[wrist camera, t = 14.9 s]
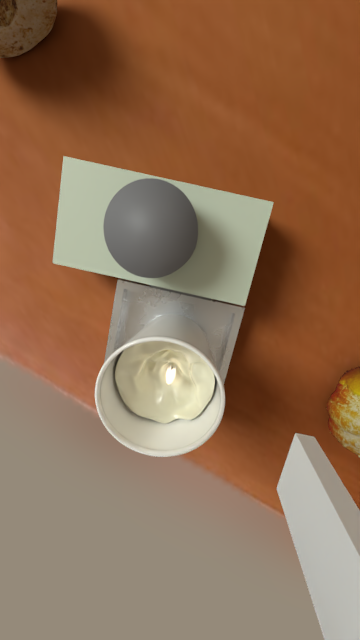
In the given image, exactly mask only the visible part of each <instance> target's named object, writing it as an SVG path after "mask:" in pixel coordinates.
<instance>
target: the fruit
mask: <svg viewBox="0 0 360 640" xmlns="http://www.w3.org/2000/svg"><path fill="white" fill-rule="evenodd" d="M326 409H327V410H328V413H329V416H330V417H329V420H328V427H329V430H330V433H331V434H333V436H334V437H335V438H336V439H337V440H338V442H339V443H340V444H342V445H343V446H344V447H345V448H346V449H348V450H350V451H351V452H353V453H355V454H357V455H358V456H359V457H360V367H356V368H354V369H351V370H350V371H347V372H346V373H344V375H343V376H342V377H341V378H340V380H339V383H338V385H337V387H336V390H335V391H334V392H333V393H332V395H331V397H330V399H329V401H328V403H327V407H326Z"/></svg>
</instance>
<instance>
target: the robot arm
mask: <svg viewBox="0 0 360 640" xmlns="http://www.w3.org/2000/svg"><path fill="white" fill-rule="evenodd" d="M277 491H278V495H279V498H280V501H281V504H282V507H283V510H284V514H285V517H286V520H287V523H288V526H289V529H290V532H291V535H292V539H293V542H294V545H295V548H296V551H297V555H298V558H299V561H300V564H301V567H302V570H303V573H304V577H305V580H306V583H307V586H308V589H309V592H310V596H311V598H312V602H313V605H314V608H315V611H316V614H317V617H318V621H319V624H320V627H321V630H322V633H323V637H324V640H360V510H359V509H358V507H357V506H356V504H355V502H354V501H353V499H352V497H351V496H350V494H349V492H348V491H347V489H346V488H345V486H344V484H343V483H342V481H341V479H340V478H339V476H338V475H337V473H336V471H335V470H334V468H333V466H332V465H331V463H330V461H329V460H328V458H327V457H326V455H325V453H324V452H323V450H322V448H321V447H320V445H319V443H318V442H317V440H316V439H315V437H313V436H308V435H303V434H299V433H295V435H294V438H293V441H292V444H291V447H290V450H289V453H288V456H287V459H286V462H285V465H284V468H283V471H282V474H281V477H280V480H279V483H278V485H277Z"/></svg>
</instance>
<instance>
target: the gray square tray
mask: <svg viewBox="0 0 360 640" xmlns="http://www.w3.org/2000/svg"><path fill="white" fill-rule="evenodd" d="M244 310H245V308H244V306H242V305H238V304H233V303H229V302H224V301H220V300H215V299H211V301H209V300H204V299H200V298H195V297H191V296H186V295H182V294H177V293H173V292H169V291H164V290H160V289H155V288H151V287H150V285H148V284H144V283H139V282H135V281H130V280H126V279H122V278H121V279H118V280H117V286H116V293H115V299H114V305H113V311H112V317H111V324H110V330H109V336H108V342H107V349H106V355H105V361H104V363H105V362H106V360H107V359H108V358H109V357H110V356H111V355H112V354H113V353H114V352H115V351H116V350H117V349H119V348H120V347H121V346H123V345H124V344H125V343H126V342H127V341H128V340H129V339H130V338H131V337H133V336H134V335H135V334H136V333H137V332H138V331H139V330H140V329H141V328H142V327H143V326H145V325H146V324H147V323H148V322H150V321H151V320H153V319H154V318H156V317H159V316H162V315H166V314H178V315H183V316H186V317H188V318H190V319H192V320H193V321H195V322H196V323H197V324H198V325H199V326H200V327H201V328H202V330H203V331H204V333H205V335H206V337H207V339H208V342H209V345H210V348H211V351H212V354H213V357H214V360H215V363H216V366H217V369H218V372H219V374H220V376H221V379H222V382H223V385H224V382H225V378H226V375H227V371H228V367H229V364H230V360H231V357H232V353H233V349H234V346H235V342H236V339H237V335H238V331H239V328H240V324H241V320H242V317H243V313H244Z"/></svg>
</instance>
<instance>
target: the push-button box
mask: <svg viewBox="0 0 360 640" xmlns="http://www.w3.org/2000/svg"><path fill="white" fill-rule="evenodd" d="M273 203H274V202H270V201H266V200H261V199H256V198H252V197H247V196H243V195H238V194H234V193H229V192H225V191H220V190H215V189H211V188H206V187H202V186H197V185H193V184H188V183H184V182H179V181H175V180H170V179H165V178H161V177H156V176H152V175H147V174H143V173H138V172H134V171H129V170H124V169H120V168H115V167H111V166H106V165H102V164H97V163H93V162H88V161H83V160H79V159H74V158H70V157H65V156H64V157H63V167H62V177H61V186H60V196H59V205H58V215H57V225H56V234H55V244H54V254H53V263H55V264H59V265H63V266H68V267H72V268H77V269H81V270H86V271H90V272H95V273H99V274H104V275H108V276H113V277H117V278H122V279H126V280H130V281H135V282H139V283H144V284H148V285H150V287H151V288H155V289H160V290H164V291H169V292H173V293H177V294H182V295H186V296H191V297H195V298H200V299H204V300H209V301H211V299H215V300H220V301H224V302H229V303H233V304H238V305H242V306H245V304H246V300H247V297H248V293H249V289H250V286H251V282H252V279H253V275H254V271H255V268H256V264H257V261H258V257H259V253H260V250H261V246H262V242H263V239H264V235H265V232H266V228H267V224H268V221H269V217H270V214H271V210H272V206H273Z"/></svg>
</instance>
